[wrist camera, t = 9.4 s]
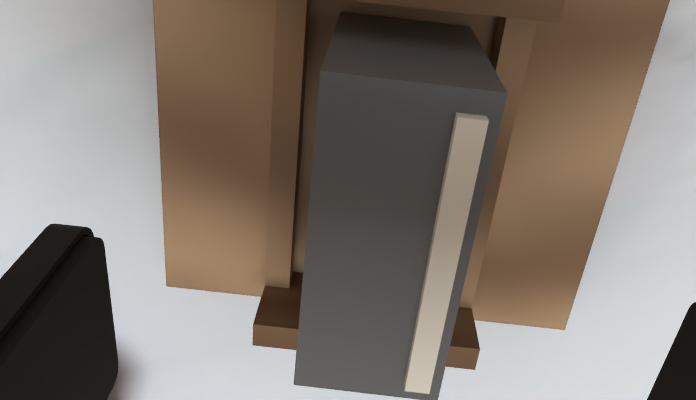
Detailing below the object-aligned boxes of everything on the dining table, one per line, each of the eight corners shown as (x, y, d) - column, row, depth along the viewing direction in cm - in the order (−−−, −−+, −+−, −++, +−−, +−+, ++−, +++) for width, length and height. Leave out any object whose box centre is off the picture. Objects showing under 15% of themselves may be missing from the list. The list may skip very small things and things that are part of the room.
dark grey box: (340, 11, 17) (319, 75, 12) (470, 26, 17) (510, 97, 12) (317, 256, 21) (292, 393, 15) (424, 268, 21) (438, 410, 15)
